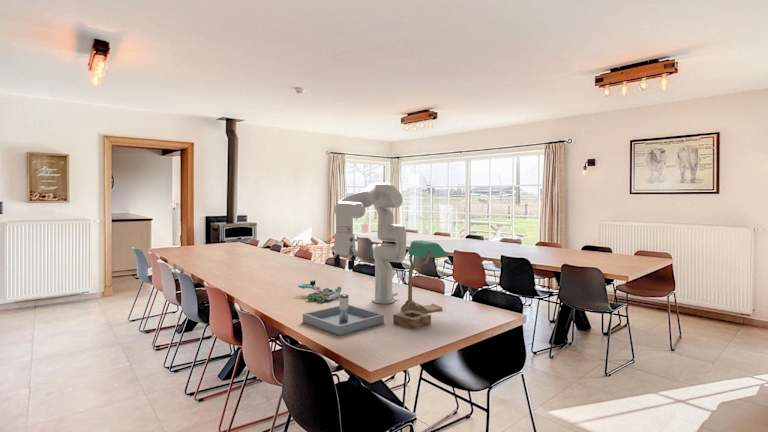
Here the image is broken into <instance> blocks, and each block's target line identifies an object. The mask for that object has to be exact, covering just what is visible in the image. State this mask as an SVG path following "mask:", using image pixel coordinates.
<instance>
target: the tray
mask: <svg viewBox="0 0 768 432" xmlns="http://www.w3.org/2000/svg"><path fill="white" fill-rule="evenodd" d="M302 323H304V324H306V325H308V326H311V327H314V328H316V329H320V330H322V331H325V332H327V333H330V334H333V335H336V336H338V337H340V336H344V335H348V334H351V333H354V332H359V331H362V330H365V329H366V330H367V329H368V328H369V329H370V328H373V327H377V326H379V325H384V324H385V314H384V313H380V312H377V311H373V310H369V309H365V308H363V307H359V306H355V305H352V304H350V303H348V322H347V323H341V322H339V305H335V306H332V307H328V308H322V309H317V310H315V311H314V310H313V311H308V312H305V313H304V312H303V313H302Z"/></svg>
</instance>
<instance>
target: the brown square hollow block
mask: <svg viewBox="0 0 768 432" xmlns="http://www.w3.org/2000/svg"><path fill="white" fill-rule="evenodd" d="M392 319H393V322H392V323H393V324H394V325H397V326H401V327H403V328H404V327H405V328H408V329H411V330H416V329H420V328H423V327H425V326H428V325H431V324H432V314H428V313H421V312H417V311H413V310H409V311H405V312H402V311H401V312H398V313H396V314H393V318H392Z"/></svg>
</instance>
